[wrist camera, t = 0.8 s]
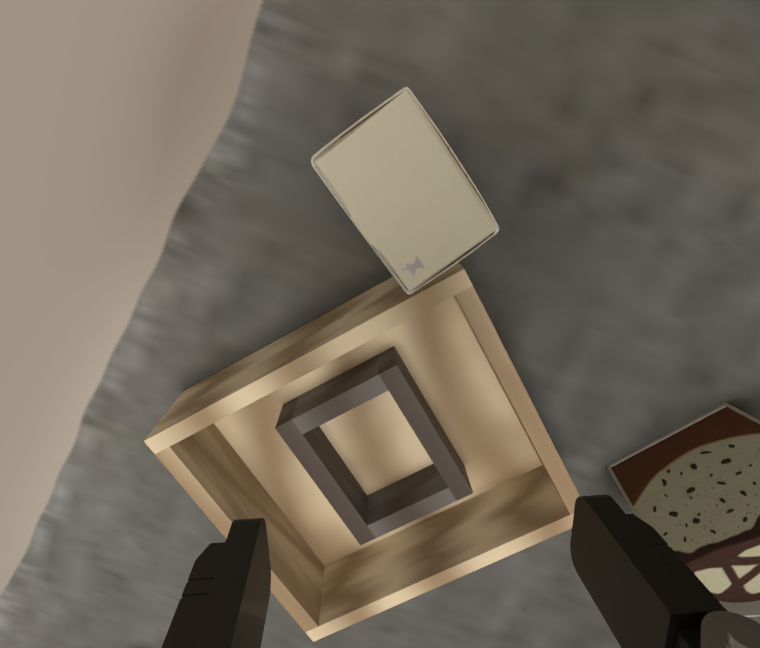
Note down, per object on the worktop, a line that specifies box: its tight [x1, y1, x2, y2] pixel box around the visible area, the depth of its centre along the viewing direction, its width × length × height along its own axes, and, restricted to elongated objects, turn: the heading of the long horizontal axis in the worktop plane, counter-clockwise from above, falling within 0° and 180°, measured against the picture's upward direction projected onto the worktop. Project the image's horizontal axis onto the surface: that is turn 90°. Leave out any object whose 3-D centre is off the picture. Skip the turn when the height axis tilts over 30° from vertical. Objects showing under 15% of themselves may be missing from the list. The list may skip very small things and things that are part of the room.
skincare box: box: [311, 87, 499, 295], centre depth 23 cm, size 6×4×12 cm
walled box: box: [144, 262, 580, 642], centre depth 31 cm, size 20×18×6 cm
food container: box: [606, 402, 760, 617], centre depth 31 cm, size 12×6×10 cm, turn 124°
